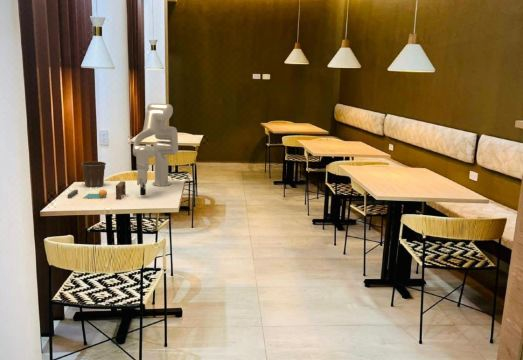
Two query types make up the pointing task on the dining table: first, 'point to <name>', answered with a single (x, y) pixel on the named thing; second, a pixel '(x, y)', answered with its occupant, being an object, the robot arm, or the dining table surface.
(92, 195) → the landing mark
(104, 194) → the ball
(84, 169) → the plant pot
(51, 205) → the dining table surface
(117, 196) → the bridge
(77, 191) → the stopper wall
